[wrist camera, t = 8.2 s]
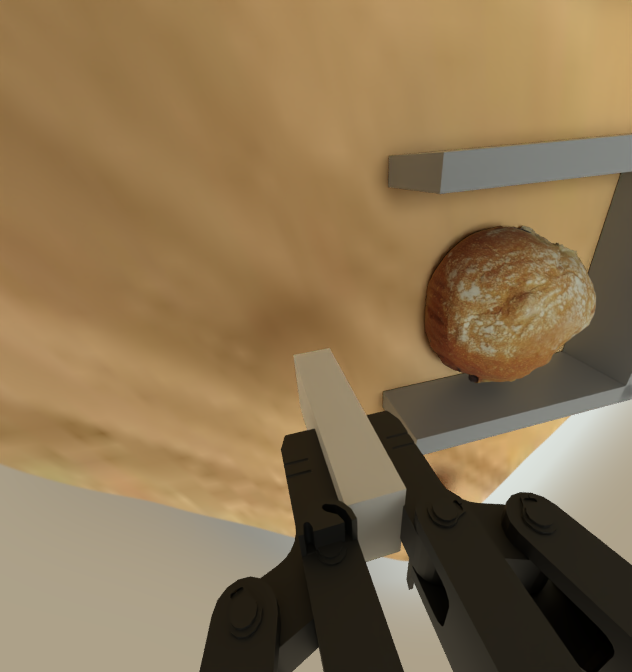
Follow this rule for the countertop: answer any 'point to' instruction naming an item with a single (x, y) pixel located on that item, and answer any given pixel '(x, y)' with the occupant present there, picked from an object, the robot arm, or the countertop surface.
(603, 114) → the countertop surface
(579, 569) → the robot arm
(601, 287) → the box
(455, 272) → the bread roll
